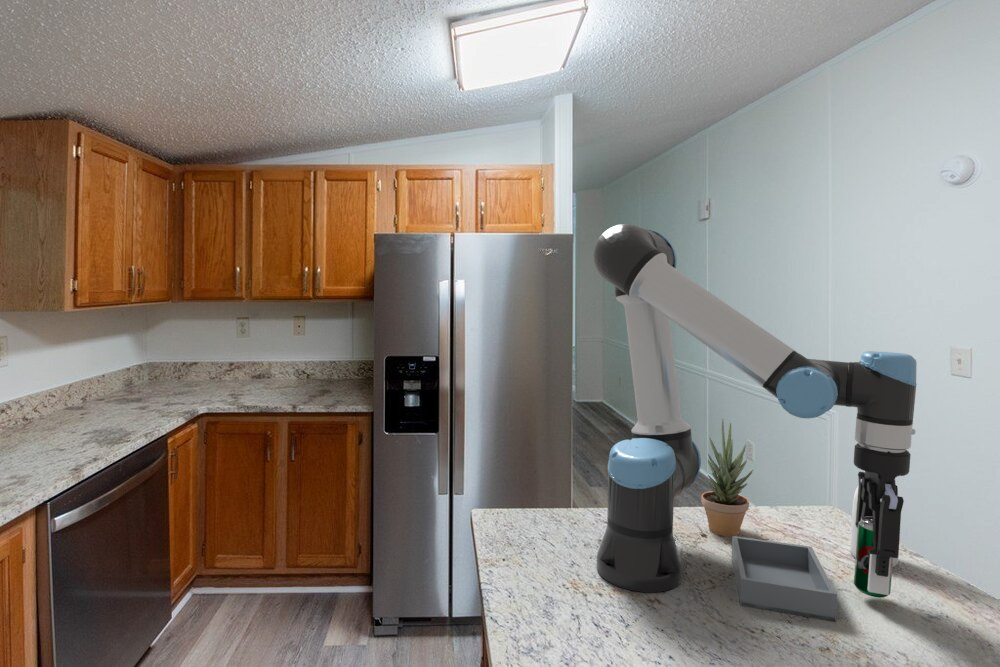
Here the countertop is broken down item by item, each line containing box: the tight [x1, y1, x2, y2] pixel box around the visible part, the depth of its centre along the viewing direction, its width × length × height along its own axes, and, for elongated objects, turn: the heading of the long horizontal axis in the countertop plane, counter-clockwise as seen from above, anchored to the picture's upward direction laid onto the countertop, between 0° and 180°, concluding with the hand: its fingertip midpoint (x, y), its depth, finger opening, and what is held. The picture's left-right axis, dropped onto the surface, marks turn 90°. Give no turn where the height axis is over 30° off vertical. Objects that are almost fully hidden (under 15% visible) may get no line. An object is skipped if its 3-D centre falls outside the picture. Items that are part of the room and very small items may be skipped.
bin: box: [730, 535, 838, 622], centre depth 95 cm, size 14×18×4 cm
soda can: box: [853, 516, 893, 599], centre depth 90 cm, size 5×5×12 cm
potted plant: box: [701, 418, 754, 537], centre depth 118 cm, size 10×10×25 cm
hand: (872, 583), depth 90 cm, fingers closed on soda can, 5 cm apart
